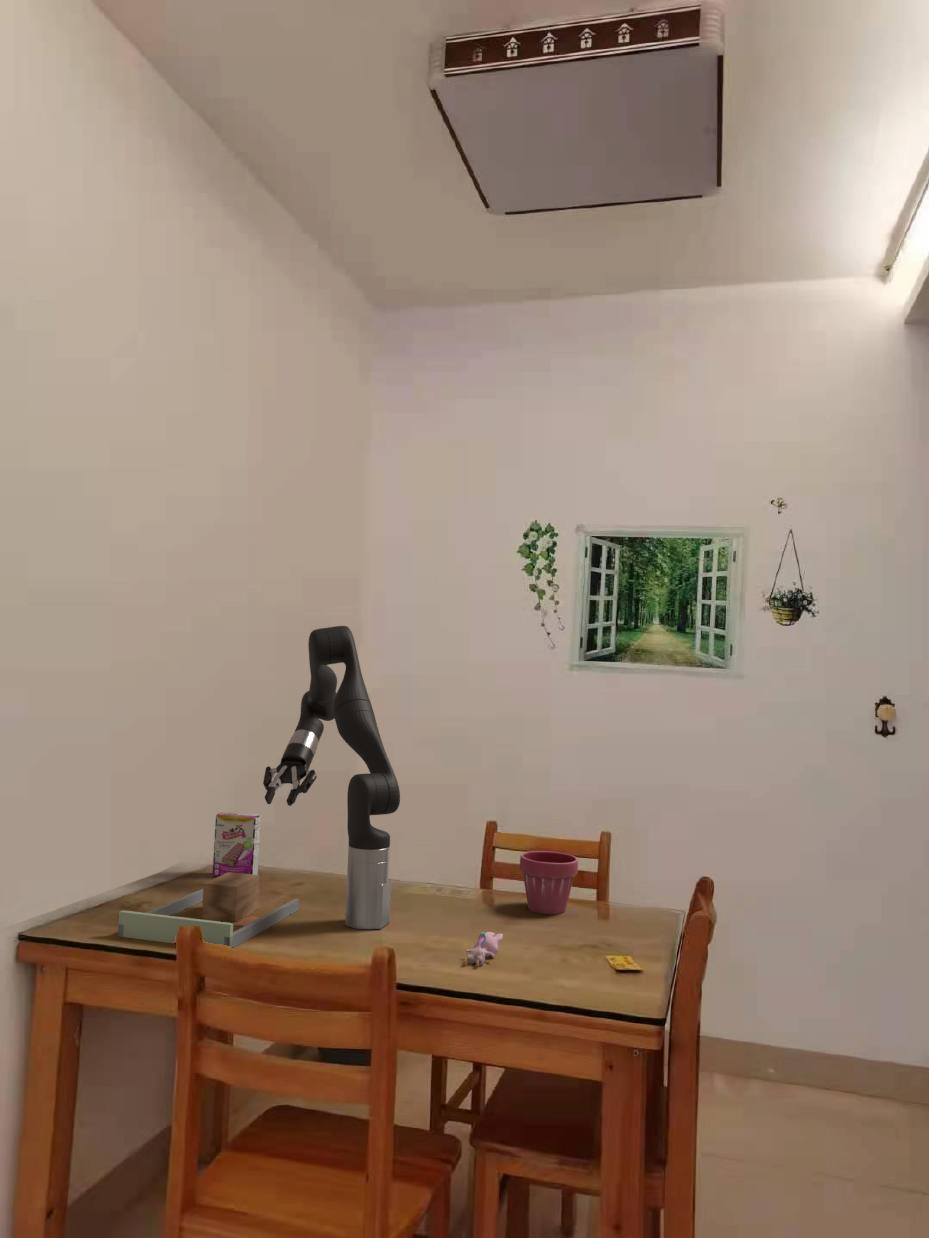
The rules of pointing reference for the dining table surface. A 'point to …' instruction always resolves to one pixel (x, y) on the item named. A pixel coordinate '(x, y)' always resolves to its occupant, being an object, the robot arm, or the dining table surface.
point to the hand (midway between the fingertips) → (278, 802)
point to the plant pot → (548, 880)
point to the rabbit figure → (483, 948)
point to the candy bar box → (236, 843)
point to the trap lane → (196, 923)
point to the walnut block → (230, 897)
